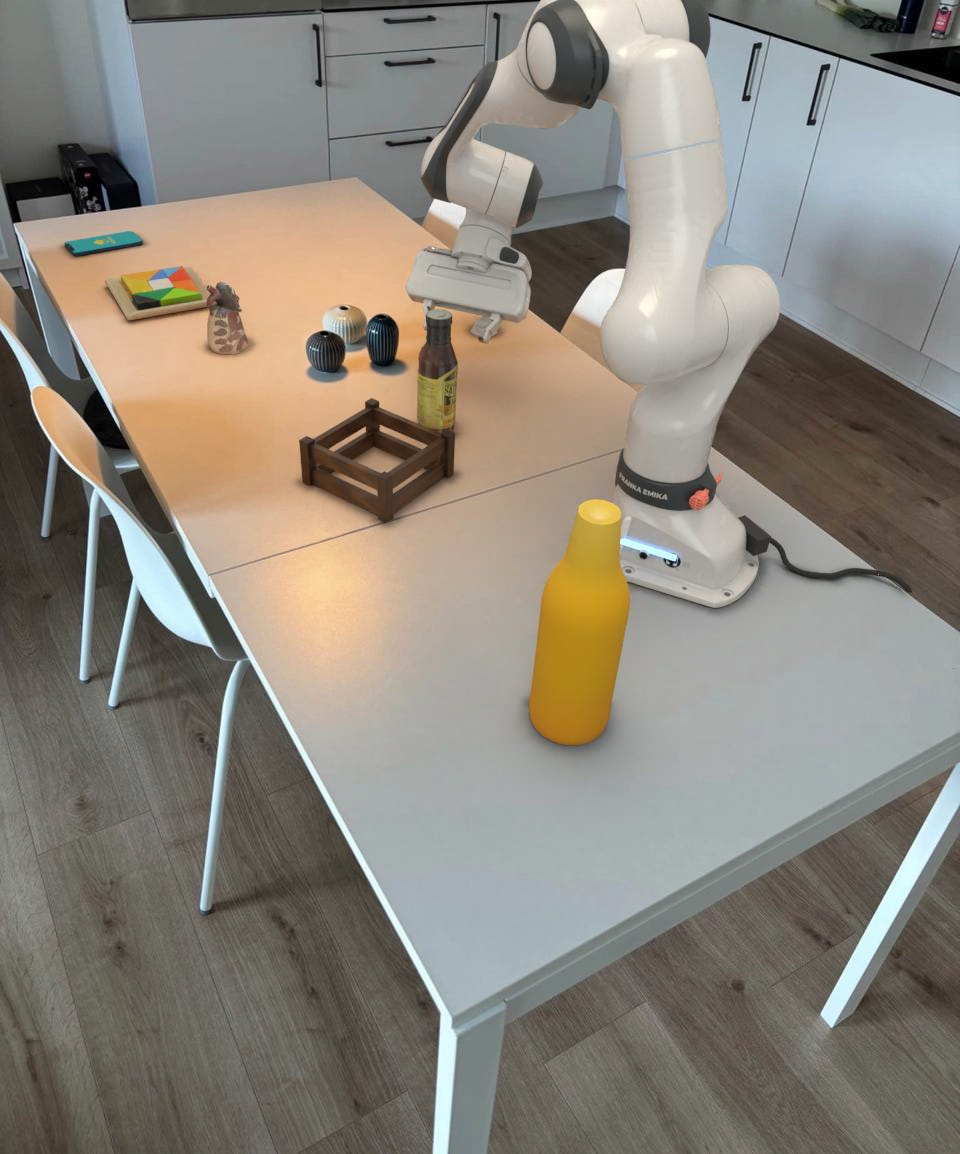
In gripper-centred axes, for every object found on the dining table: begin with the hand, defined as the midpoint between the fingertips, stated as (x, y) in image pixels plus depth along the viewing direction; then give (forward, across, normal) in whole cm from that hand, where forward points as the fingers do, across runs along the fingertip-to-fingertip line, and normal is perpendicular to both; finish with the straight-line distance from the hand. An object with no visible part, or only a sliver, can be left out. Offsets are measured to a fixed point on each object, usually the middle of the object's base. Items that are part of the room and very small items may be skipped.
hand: (455, 335), depth 157 cm
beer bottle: (+52, +38, -34) cm, 72 cm away
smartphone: (-14, -94, +33) cm, 101 cm away
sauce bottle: (+15, 0, +4) cm, 15 cm away
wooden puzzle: (-2, -68, +21) cm, 71 cm away
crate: (+27, -2, -8) cm, 28 cm away
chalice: (-12, -5, +31) cm, 33 cm away
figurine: (+7, -45, +12) cm, 47 cm away
